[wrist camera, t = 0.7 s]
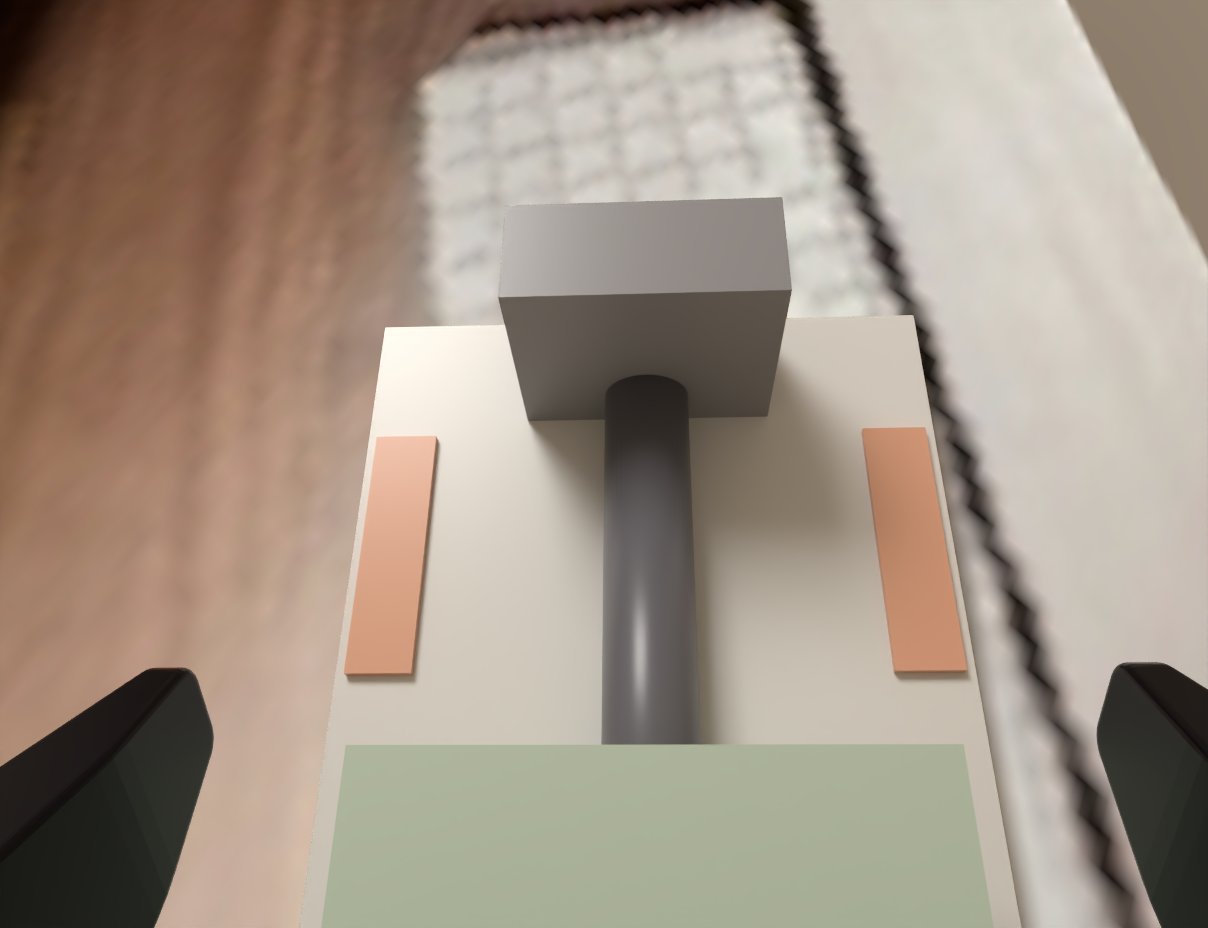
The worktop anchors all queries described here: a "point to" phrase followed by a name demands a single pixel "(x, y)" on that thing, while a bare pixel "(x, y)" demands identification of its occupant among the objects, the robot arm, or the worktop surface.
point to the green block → (656, 837)
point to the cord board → (739, 563)
